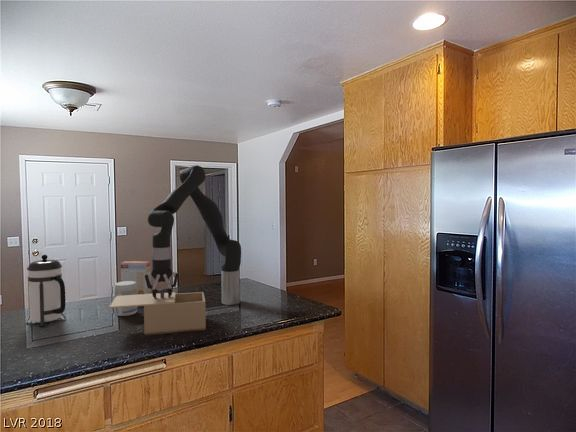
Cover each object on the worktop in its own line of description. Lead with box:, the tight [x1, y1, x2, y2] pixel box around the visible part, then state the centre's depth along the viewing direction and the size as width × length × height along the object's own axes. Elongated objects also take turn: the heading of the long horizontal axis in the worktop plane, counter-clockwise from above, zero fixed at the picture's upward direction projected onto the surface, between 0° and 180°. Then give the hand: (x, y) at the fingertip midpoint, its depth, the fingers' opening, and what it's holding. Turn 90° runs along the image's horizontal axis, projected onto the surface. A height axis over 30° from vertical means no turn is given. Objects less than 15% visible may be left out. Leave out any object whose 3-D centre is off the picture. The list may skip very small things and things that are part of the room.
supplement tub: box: [114, 281, 138, 317], centre depth 175 cm, size 10×10×15 cm
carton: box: [143, 291, 207, 336], centre depth 159 cm, size 24×16×12 cm, turn 106°
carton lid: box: [109, 288, 176, 309], centre depth 155 cm, size 24×16×4 cm
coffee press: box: [25, 254, 67, 328], centre depth 163 cm, size 17×16×30 cm
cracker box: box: [120, 260, 152, 295], centre depth 198 cm, size 14×6×21 cm, turn 84°
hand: (162, 297), depth 157 cm, fingers closed on carton lid, 5 cm apart
